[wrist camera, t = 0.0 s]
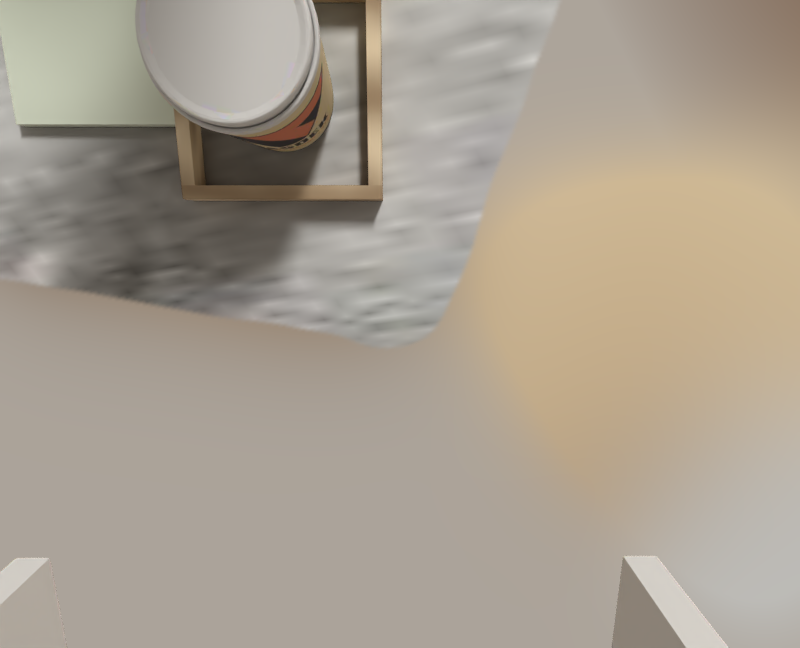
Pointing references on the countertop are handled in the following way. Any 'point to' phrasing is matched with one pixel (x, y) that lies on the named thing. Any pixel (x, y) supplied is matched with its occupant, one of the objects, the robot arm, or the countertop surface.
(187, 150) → the oak frame
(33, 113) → the sage tile
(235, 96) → the coffee cup
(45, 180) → the countertop surface
